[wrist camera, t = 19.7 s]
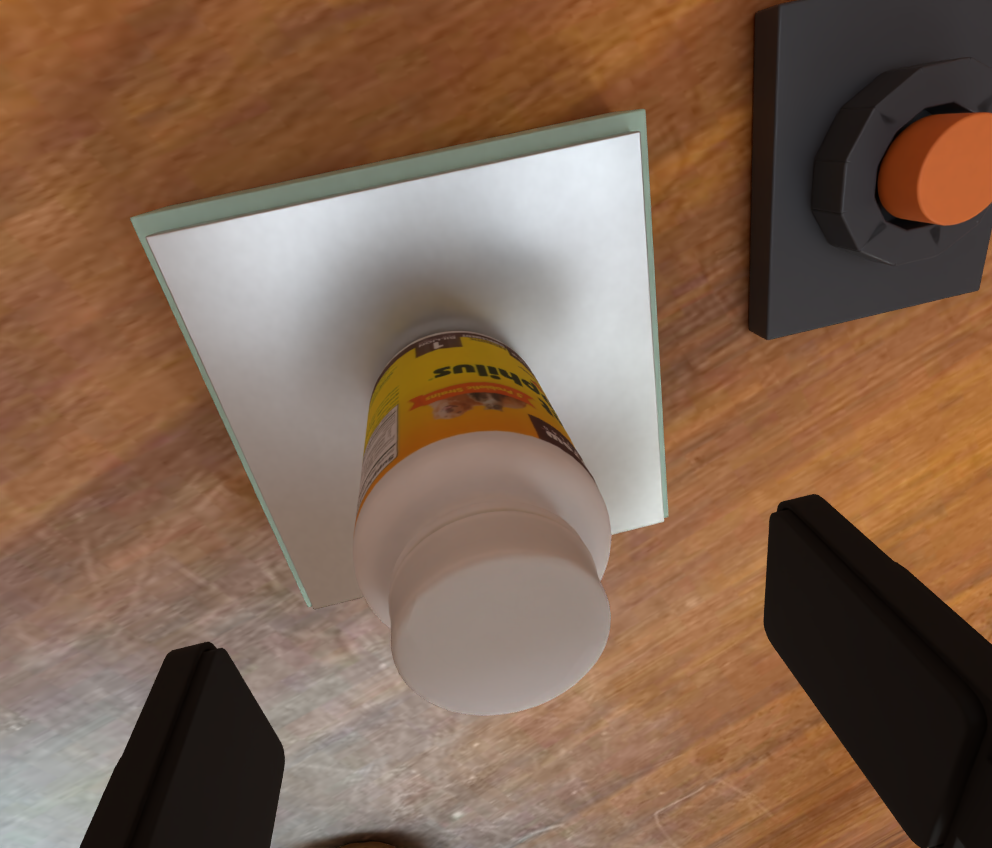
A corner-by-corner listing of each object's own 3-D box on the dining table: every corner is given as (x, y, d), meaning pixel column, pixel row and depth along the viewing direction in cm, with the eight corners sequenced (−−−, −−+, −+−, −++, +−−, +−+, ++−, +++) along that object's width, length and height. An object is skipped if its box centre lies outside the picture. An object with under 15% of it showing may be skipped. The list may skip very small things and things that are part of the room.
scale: (166, 206, 19) (116, 221, 15) (612, 112, 20) (657, 106, 16) (316, 559, 26) (304, 622, 22) (641, 479, 26) (677, 529, 23)
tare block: (753, 12, 19) (812, -8, 16) (1009, -40, 19) (1107, -69, 17) (747, 330, 24) (791, 354, 21) (950, 283, 24) (1018, 300, 22)
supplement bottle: (567, 370, 19) (719, 577, 10) (485, 498, 21) (552, 771, 12) (416, 291, 17) (438, 460, 8) (340, 439, 19) (289, 711, 10)
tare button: (882, 125, 19) (927, 124, 17) (975, 104, 19) (1027, 102, 17) (870, 227, 20) (910, 235, 18) (957, 208, 20) (1003, 214, 19)
